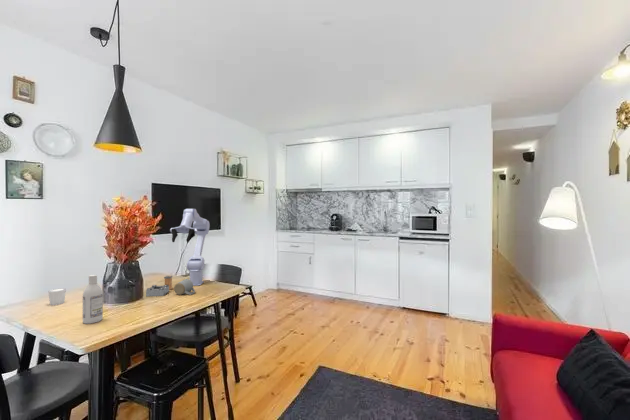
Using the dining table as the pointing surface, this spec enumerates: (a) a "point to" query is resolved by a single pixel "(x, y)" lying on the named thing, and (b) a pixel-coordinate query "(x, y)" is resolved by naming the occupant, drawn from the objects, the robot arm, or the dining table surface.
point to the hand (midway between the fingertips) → (180, 241)
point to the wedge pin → (168, 281)
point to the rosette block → (157, 290)
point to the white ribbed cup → (57, 296)
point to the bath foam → (92, 301)
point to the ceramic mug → (184, 287)
